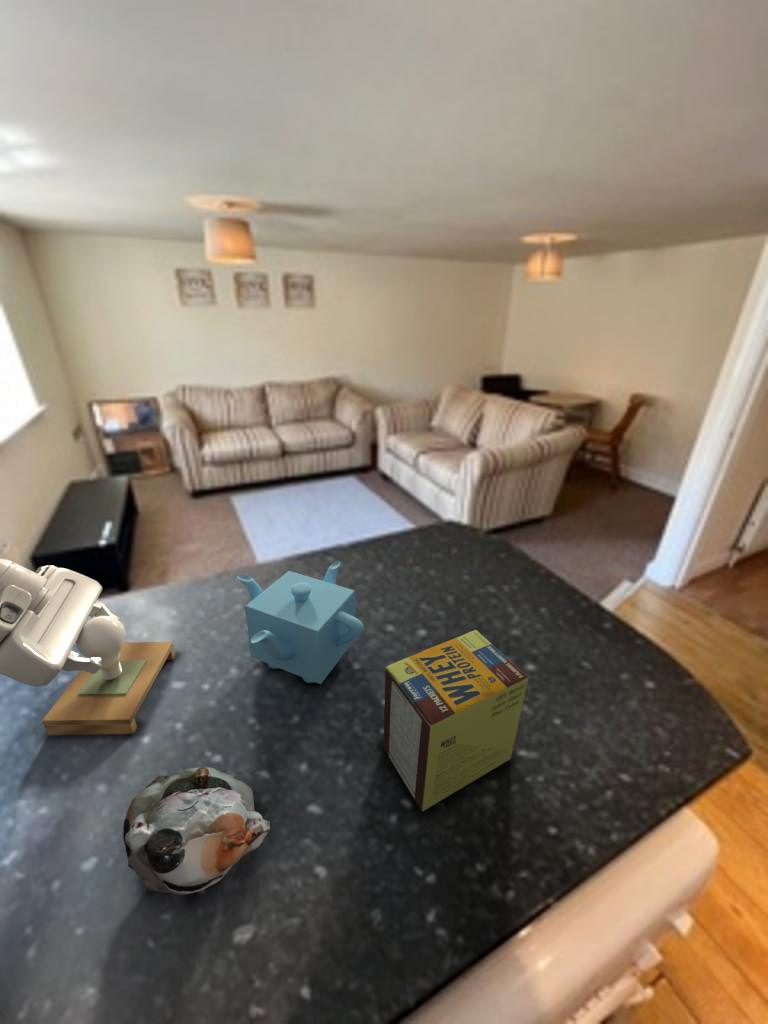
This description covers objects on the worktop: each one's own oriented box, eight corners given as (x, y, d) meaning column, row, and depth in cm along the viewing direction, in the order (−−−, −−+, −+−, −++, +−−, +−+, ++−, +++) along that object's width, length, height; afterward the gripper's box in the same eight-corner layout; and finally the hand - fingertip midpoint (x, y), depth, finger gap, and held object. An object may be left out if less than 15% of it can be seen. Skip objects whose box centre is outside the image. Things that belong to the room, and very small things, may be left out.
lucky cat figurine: (264, 776, 59) (284, 749, 50) (248, 895, 51) (268, 891, 42) (142, 769, 55) (138, 738, 46) (103, 897, 47) (89, 893, 38)
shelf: (48, 735, 64) (41, 719, 63) (106, 655, 79) (101, 641, 77) (133, 734, 65) (128, 718, 63) (175, 655, 79) (172, 640, 78)
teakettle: (370, 679, 75) (371, 608, 69) (255, 710, 69) (245, 635, 63) (339, 613, 91) (338, 550, 85) (244, 632, 85) (235, 566, 79)
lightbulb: (117, 695, 67) (100, 637, 62) (79, 689, 68) (59, 631, 63) (144, 664, 73) (130, 609, 68) (109, 659, 74) (92, 604, 69)
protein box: (512, 759, 63) (530, 676, 56) (421, 814, 56) (430, 727, 49) (465, 705, 71) (476, 627, 64) (380, 747, 64) (383, 665, 57)
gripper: (30, 575, 71) (114, 616, 77) (-43, 669, 53) (73, 711, 59) (55, 547, 70) (137, 591, 76) (-12, 633, 52) (102, 680, 59)
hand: (108, 644), depth 68 cm, fingers open, 8 cm apart
